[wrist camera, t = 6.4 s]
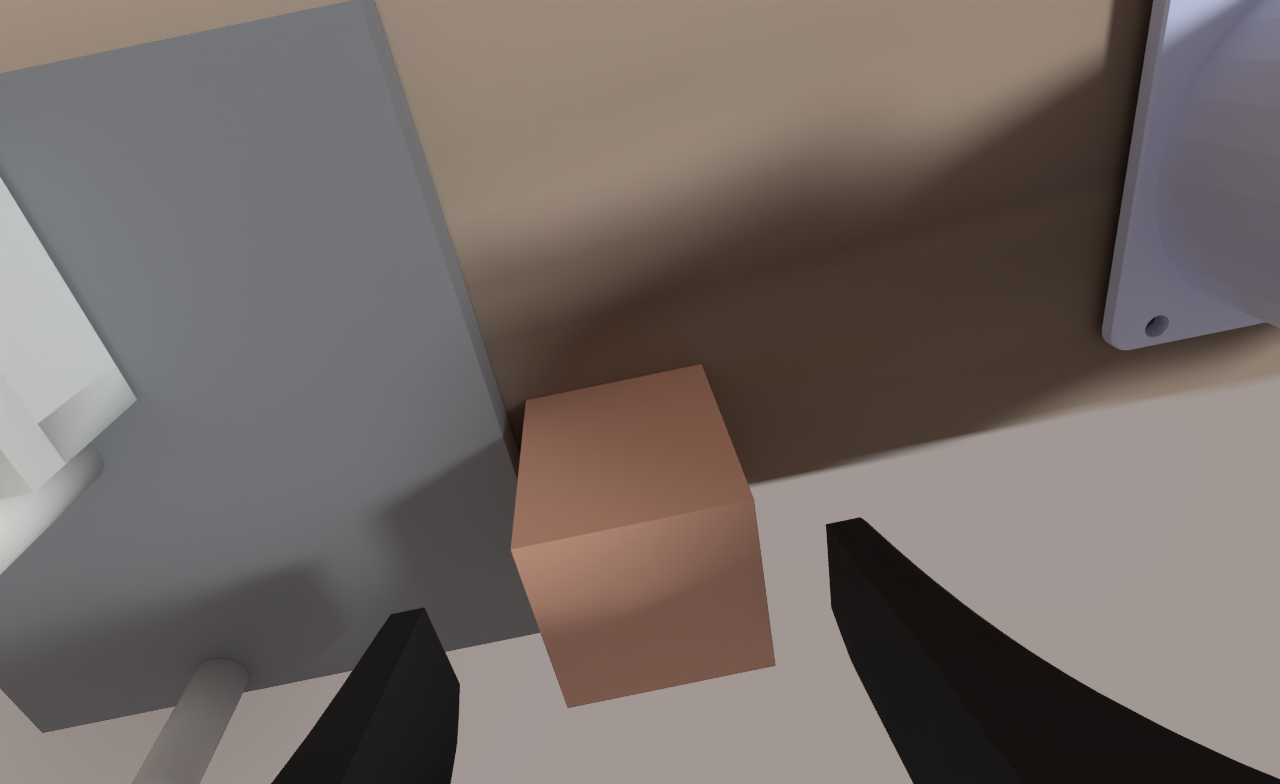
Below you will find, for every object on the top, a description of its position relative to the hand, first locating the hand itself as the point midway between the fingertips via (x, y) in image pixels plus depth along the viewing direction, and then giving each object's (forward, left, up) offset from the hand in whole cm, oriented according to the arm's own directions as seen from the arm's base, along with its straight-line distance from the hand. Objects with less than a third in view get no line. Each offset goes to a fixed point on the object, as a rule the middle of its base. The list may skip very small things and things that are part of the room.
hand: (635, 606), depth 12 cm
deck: (+9, -3, -5) cm, 11 cm away
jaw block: (0, 0, -5) cm, 5 cm away
